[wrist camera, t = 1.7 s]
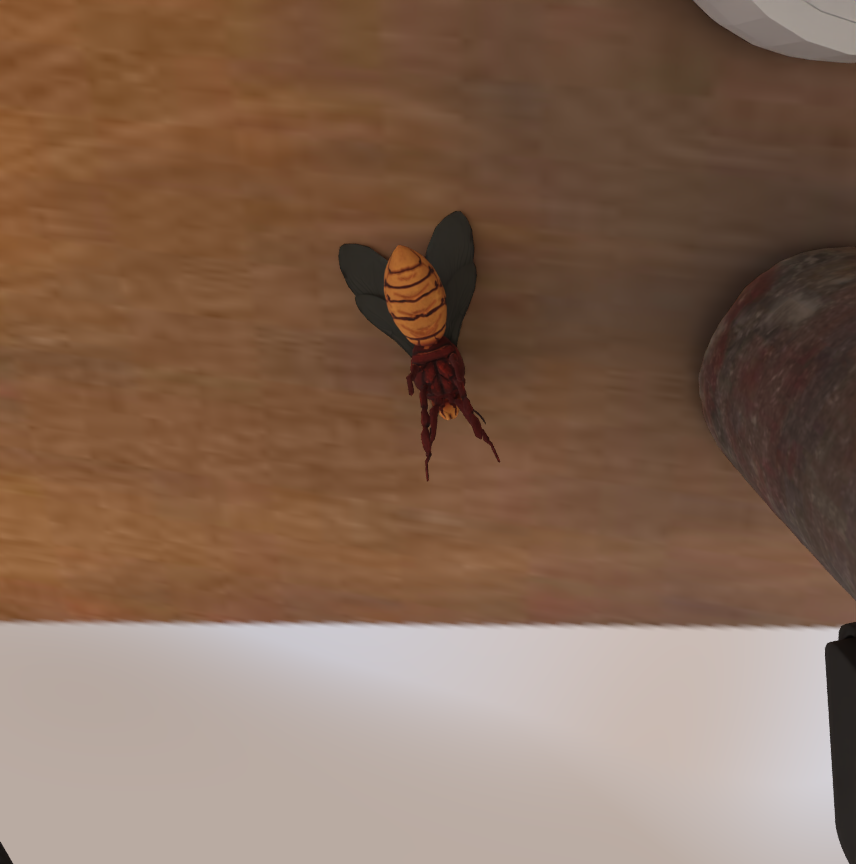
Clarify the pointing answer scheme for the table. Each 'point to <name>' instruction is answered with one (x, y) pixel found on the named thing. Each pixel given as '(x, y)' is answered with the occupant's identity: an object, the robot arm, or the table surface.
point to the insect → (423, 314)
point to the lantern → (791, 26)
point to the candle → (793, 399)
